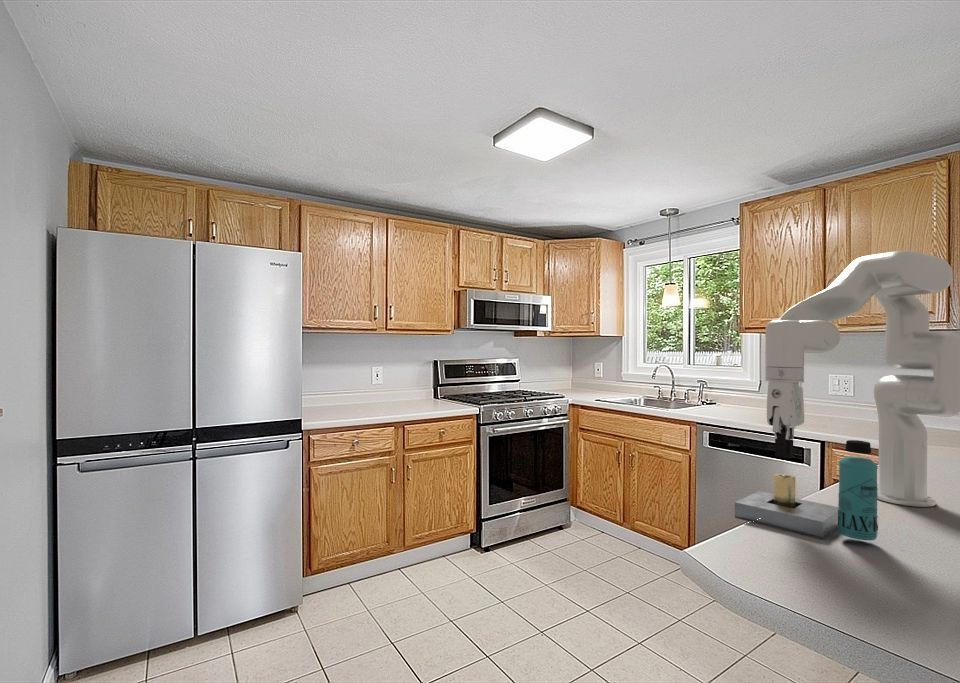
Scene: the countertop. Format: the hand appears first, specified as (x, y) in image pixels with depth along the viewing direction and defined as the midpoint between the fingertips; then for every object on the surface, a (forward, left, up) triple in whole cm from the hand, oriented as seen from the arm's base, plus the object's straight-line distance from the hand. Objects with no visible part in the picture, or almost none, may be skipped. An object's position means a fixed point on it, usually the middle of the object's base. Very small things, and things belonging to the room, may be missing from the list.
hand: (784, 456), depth 115 cm
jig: (+1, +1, -14) cm, 14 cm away
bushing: (0, 0, -13) cm, 13 cm away
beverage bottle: (+4, +15, -14) cm, 21 cm away
